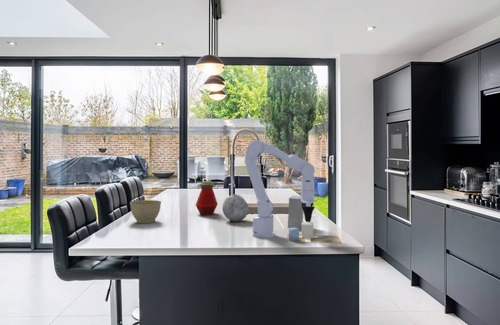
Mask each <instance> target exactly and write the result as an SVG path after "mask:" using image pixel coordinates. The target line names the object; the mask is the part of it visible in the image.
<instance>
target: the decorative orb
mask: <svg viewBox="0 0 500 325" xmlns="http://www.w3.org/2000/svg"><path fill="white" fill-rule="evenodd" d="M221 210H222V213H223V214H224V216H225V218H226V219H227V220H229V221H231V222H241V221H242V220H244V219H245V218H247V216H248V215H249V212H250V207H249V204H248V203H247V201H246V200H245V199H244V197H243V196H242V195H240V194H237V193H235V194H234V193H232V195H229V196H227V197H226V198H225V199H224V200H223V203H222V209H221Z"/></svg>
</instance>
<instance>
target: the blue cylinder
mask: <svg viewBox="0 0 500 325" xmlns="http://www.w3.org/2000/svg"><path fill="white" fill-rule="evenodd" d="M288 234H289V241H294V242H293V243H296V242H295V241H299V234H300V229H299V228H288Z"/></svg>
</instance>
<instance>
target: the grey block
mask: <svg viewBox="0 0 500 325" xmlns="http://www.w3.org/2000/svg"><path fill="white" fill-rule="evenodd" d="M301 235H302V238H313V235H314V222H311V221H310V222H306V221H303V222H302V227H301Z"/></svg>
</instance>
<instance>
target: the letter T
mask: <svg viewBox="0 0 500 325" xmlns="http://www.w3.org/2000/svg"><path fill="white" fill-rule="evenodd" d="M299 237H302V236H299ZM313 238H318V237H317V236H313ZM309 242H311V239H310V238H305V242H304V243H309Z"/></svg>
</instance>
